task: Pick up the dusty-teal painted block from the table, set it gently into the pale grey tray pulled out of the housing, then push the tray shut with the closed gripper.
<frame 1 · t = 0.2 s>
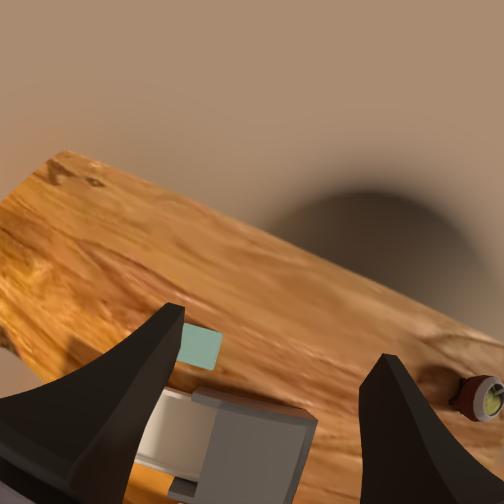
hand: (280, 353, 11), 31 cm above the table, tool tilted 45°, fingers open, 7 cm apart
mate gourd: (462, 393, 40), on the table
housing: (239, 447, 36), on the table
teal block: (201, 346, 40), on the table
tray: (152, 430, 34), point 3 cm above the table, slide at 8.0 cm
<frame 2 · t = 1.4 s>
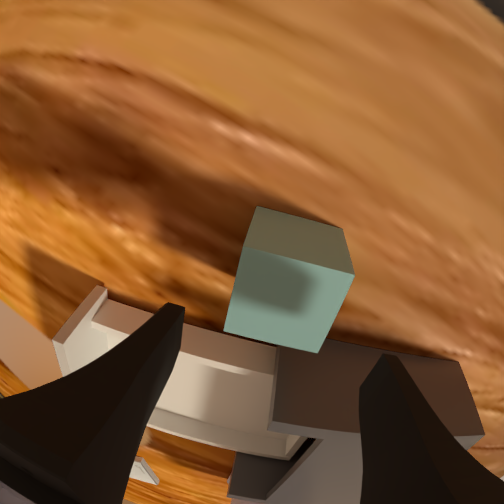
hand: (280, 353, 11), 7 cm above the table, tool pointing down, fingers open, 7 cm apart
hard drive: (115, 455, 37), on the table
housing: (341, 408, 23), on the table
teal block: (288, 254, 17), on the table
tray: (196, 412, 20), point 3 cm above the table, slide at 8.0 cm
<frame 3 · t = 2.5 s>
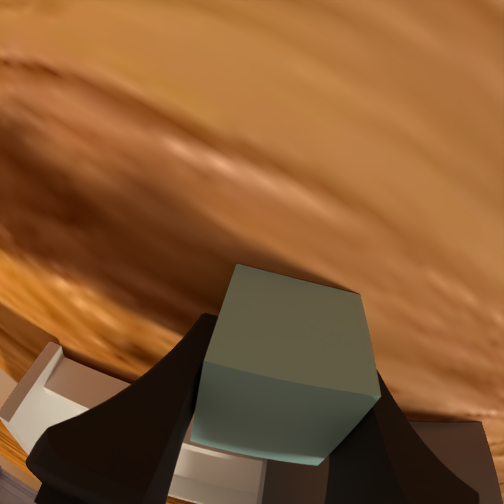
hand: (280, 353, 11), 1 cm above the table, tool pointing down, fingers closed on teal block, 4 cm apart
housing: (344, 470, 18), on the table
teal block: (282, 326, 12), on the table, touching gripper
tray: (174, 482, 15), point 3 cm above the table, slide at 8.0 cm
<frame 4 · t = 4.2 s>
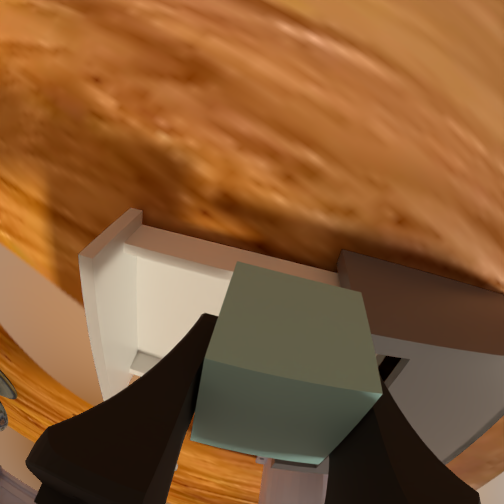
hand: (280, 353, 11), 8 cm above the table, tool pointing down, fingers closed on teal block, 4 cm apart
housing: (395, 354, 21), on the table
teal block: (283, 325, 12), point 7 cm above the table, touching gripper
tray: (242, 358, 19), point 3 cm above the table, slide at 8.0 cm
when the fingers open (3 cm above the table, at t = 6.0 s): teal block drops 1 cm, resting on tray.
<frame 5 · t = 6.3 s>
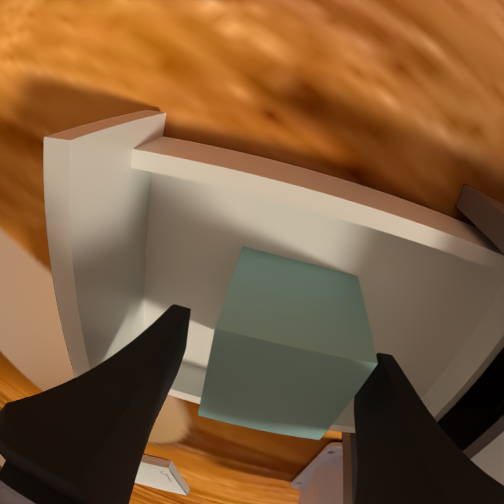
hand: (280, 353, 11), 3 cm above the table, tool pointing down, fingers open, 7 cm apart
hard drive: (130, 458, 28), on the table
housing: (494, 342, 14), on the table
teal block: (285, 307, 13), point 1 cm above the table, touching tray
tray: (323, 356, 11), point 3 cm above the table, slide at 8.0 cm, touching teal block
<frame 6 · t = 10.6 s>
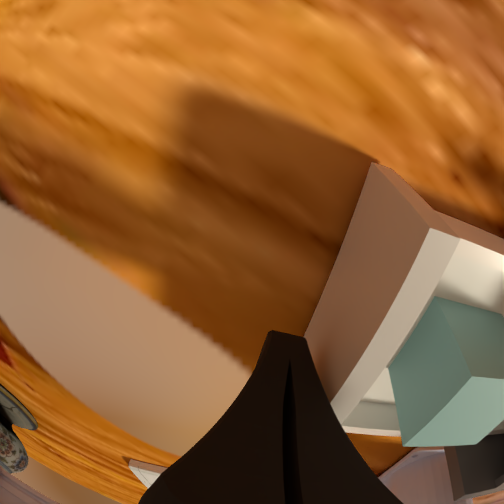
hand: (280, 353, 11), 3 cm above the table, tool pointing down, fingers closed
apothecary jar: (7, 401, 27), on the table
hard drive: (197, 479, 28), on the table
teal block: (446, 342, 13), point 1 cm above the table, touching tray
tray: (482, 379, 11), point 3 cm above the table, slide at 7.2 cm, touching gripper, teal block
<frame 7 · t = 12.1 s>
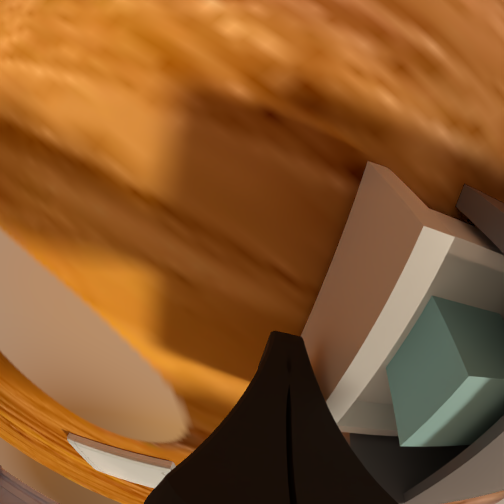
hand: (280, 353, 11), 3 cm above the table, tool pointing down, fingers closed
hard drive: (132, 459, 28), on the table
housing: (494, 342, 14), on the table
teal block: (444, 342, 13), point 1 cm above the table, touching tray
tray: (480, 379, 11), point 3 cm above the table, slide at -0.1 cm, touching gripper, teal block
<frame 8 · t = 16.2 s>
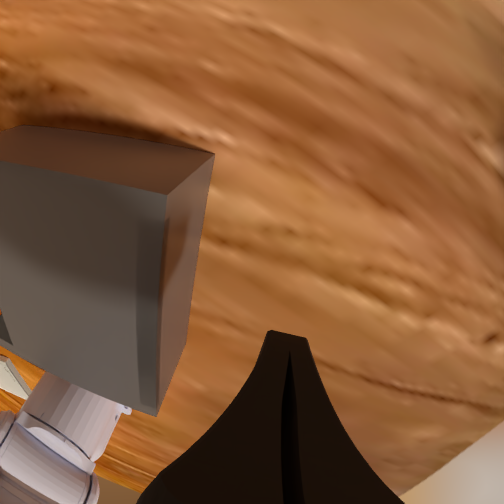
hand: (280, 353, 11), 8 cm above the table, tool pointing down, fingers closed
hard drive: (1, 367, 34), on the table
housing: (97, 238, 20), on the table
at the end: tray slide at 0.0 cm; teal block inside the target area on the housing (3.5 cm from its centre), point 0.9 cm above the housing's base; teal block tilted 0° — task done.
